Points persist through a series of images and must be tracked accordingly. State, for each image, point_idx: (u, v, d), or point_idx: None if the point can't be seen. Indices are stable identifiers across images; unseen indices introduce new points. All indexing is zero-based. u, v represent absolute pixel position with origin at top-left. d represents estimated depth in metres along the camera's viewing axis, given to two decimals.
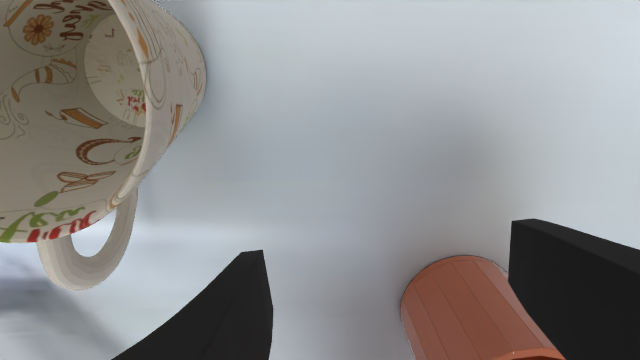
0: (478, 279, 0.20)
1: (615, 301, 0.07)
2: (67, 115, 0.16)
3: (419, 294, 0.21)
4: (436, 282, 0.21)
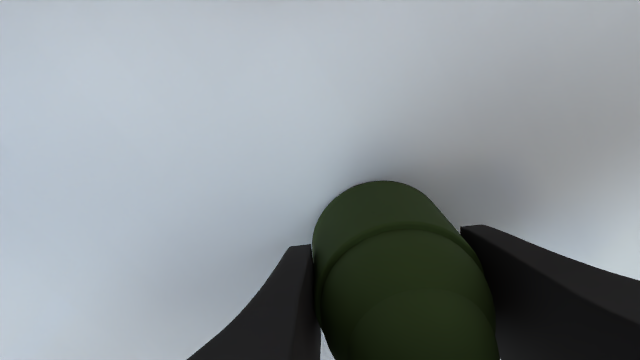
0: None
1: (541, 310, 0.07)
2: None
3: None
4: None
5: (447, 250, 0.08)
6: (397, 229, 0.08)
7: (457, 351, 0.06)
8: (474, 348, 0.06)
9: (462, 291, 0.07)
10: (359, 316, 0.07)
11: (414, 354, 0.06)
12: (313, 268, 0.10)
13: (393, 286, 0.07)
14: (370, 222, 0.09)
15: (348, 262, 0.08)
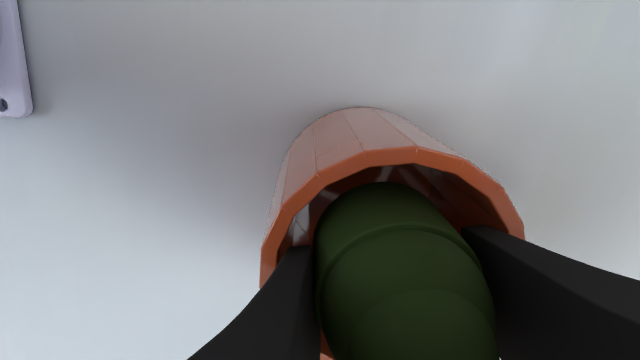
0: None
1: (541, 309, 0.07)
2: None
3: None
4: None
5: (447, 251, 0.08)
6: (397, 230, 0.09)
7: (457, 352, 0.06)
8: (474, 349, 0.06)
9: (462, 292, 0.07)
10: (359, 317, 0.07)
11: (414, 355, 0.06)
12: None
13: (393, 286, 0.07)
14: (370, 222, 0.09)
15: (349, 262, 0.08)
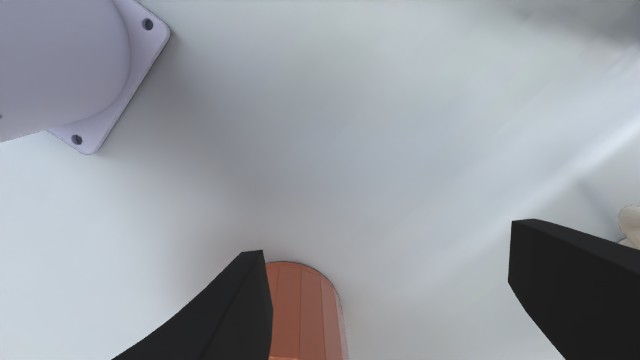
0: None
1: (615, 301, 0.07)
2: None
3: None
4: None
5: None
6: None
7: None
8: None
9: None
10: None
11: None
12: None
13: None
14: None
15: None
